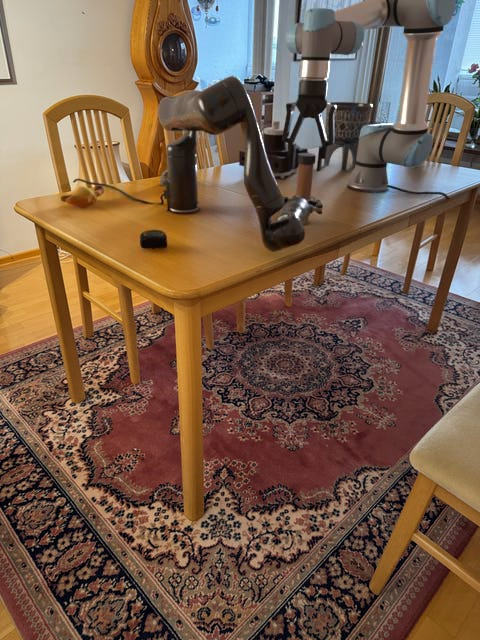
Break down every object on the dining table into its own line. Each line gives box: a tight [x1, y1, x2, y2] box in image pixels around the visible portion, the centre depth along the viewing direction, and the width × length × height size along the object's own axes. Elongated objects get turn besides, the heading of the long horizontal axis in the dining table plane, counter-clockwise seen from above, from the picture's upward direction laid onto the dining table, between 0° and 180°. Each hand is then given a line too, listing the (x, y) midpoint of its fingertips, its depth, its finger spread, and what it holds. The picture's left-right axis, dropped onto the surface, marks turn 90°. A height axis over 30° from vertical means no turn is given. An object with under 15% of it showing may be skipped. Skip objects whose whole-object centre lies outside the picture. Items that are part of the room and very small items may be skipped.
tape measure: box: [139, 229, 168, 250], centre depth 117 cm, size 7×7×4 cm
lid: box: [297, 152, 317, 165], centre depth 130 cm, size 5×5×2 cm
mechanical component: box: [238, 120, 310, 179], centre depth 191 cm, size 22×21×30 cm
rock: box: [159, 168, 168, 187], centre depth 175 cm, size 13×9×6 cm, turn 131°
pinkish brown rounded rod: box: [295, 163, 315, 225], centre depth 134 cm, size 4×4×19 cm
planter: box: [323, 101, 374, 172], centre depth 204 cm, size 20×20×26 cm
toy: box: [60, 185, 105, 208], centre depth 150 cm, size 11×6×15 cm
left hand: (304, 198), depth 138 cm, fingers closed on pinkish brown rounded rod, 4 cm apart
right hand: (305, 169), depth 131 cm, fingers open, 7 cm apart
